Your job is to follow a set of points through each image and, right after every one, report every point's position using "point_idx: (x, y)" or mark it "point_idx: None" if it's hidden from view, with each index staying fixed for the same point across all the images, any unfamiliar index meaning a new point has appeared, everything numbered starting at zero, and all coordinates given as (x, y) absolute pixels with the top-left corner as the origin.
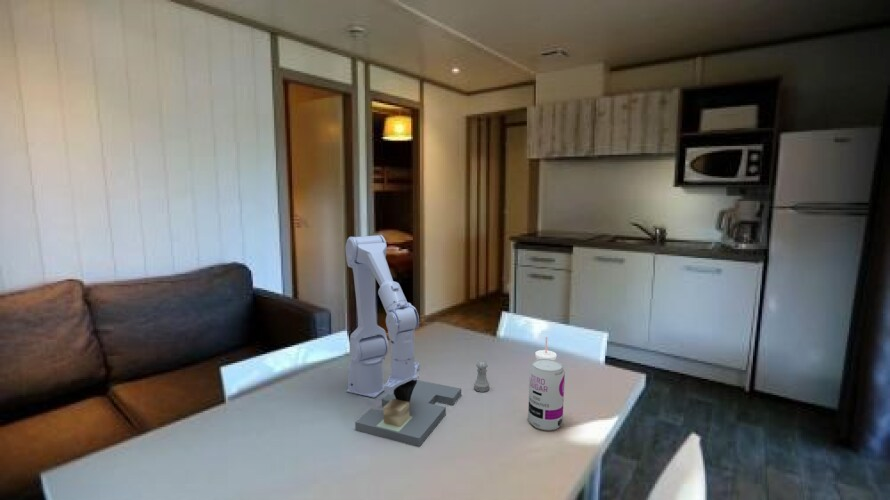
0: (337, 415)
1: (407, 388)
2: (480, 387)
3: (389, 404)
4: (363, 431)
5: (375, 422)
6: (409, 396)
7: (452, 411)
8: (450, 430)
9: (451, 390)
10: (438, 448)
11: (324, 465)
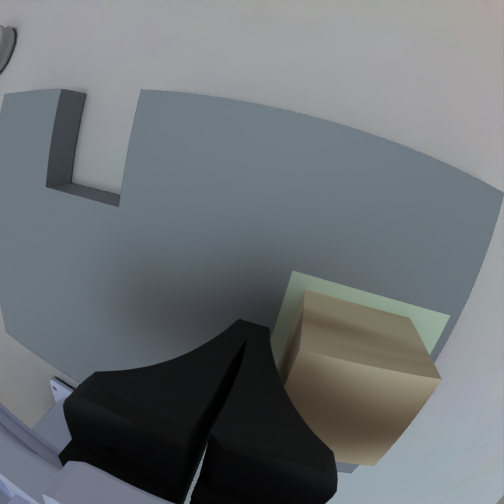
0: None
1: (331, 482)
2: (2, 41)
3: (342, 451)
4: None
5: None
6: (229, 366)
7: (133, 75)
8: (319, 41)
9: (14, 126)
10: (478, 97)
11: (500, 440)
